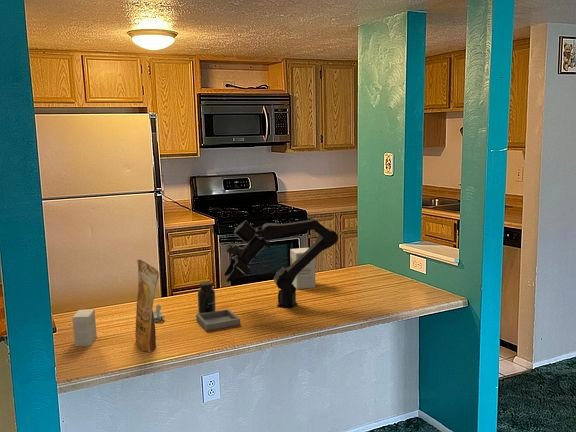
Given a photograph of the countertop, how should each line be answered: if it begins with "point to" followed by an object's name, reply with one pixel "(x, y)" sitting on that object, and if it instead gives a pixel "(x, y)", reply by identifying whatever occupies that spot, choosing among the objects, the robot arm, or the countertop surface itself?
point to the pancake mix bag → (146, 306)
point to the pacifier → (158, 313)
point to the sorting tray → (217, 320)
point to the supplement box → (303, 270)
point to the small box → (84, 327)
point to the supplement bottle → (206, 298)
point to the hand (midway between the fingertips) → (225, 278)
